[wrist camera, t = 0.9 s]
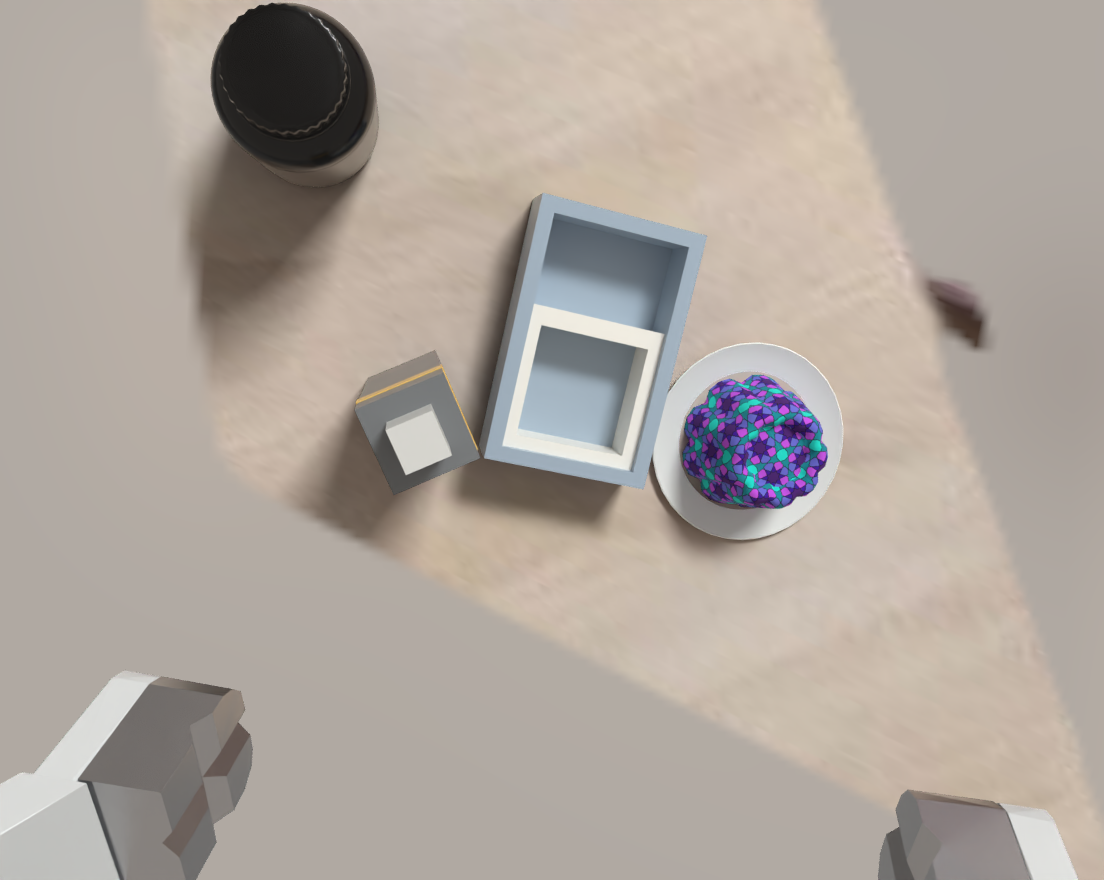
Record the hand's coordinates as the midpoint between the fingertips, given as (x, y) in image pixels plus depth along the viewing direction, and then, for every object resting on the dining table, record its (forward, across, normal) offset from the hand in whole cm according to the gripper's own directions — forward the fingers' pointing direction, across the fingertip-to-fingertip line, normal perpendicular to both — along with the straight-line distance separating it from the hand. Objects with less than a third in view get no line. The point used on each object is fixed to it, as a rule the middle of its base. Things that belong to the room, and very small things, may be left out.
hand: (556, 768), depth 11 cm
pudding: (+39, -6, +17) cm, 43 cm away
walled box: (+38, +4, +11) cm, 39 cm away
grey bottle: (+34, +12, +14) cm, 39 cm away
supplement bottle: (+38, +18, 0) cm, 42 cm away
